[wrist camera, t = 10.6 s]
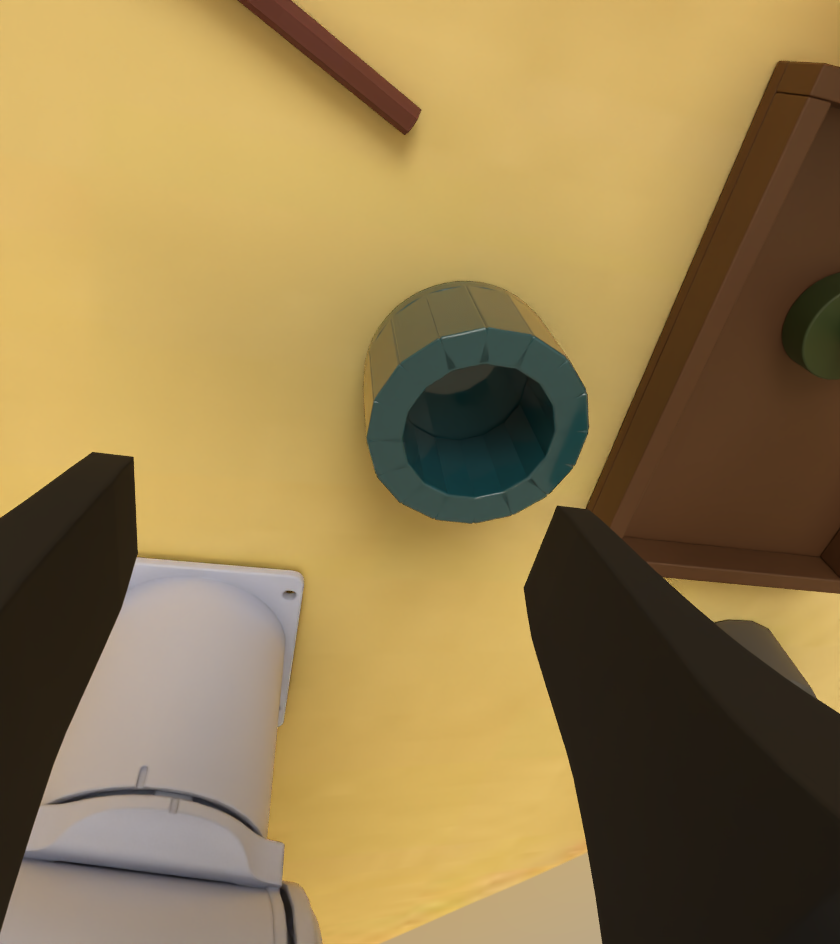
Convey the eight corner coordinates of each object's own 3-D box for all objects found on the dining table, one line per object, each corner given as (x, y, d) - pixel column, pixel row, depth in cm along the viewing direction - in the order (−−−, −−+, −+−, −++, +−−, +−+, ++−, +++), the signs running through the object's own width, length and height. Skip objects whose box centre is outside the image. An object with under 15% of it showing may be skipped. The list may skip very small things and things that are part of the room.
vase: (520, 463, 23) (549, 533, 20) (351, 442, 22) (352, 512, 19) (576, 299, 20) (622, 349, 17) (381, 263, 19) (390, 311, 16)
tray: (817, 562, 28) (846, 595, 26) (573, 537, 26) (589, 571, 24) (1107, 151, 19) (1179, 162, 18) (777, 60, 17) (824, 62, 15)
